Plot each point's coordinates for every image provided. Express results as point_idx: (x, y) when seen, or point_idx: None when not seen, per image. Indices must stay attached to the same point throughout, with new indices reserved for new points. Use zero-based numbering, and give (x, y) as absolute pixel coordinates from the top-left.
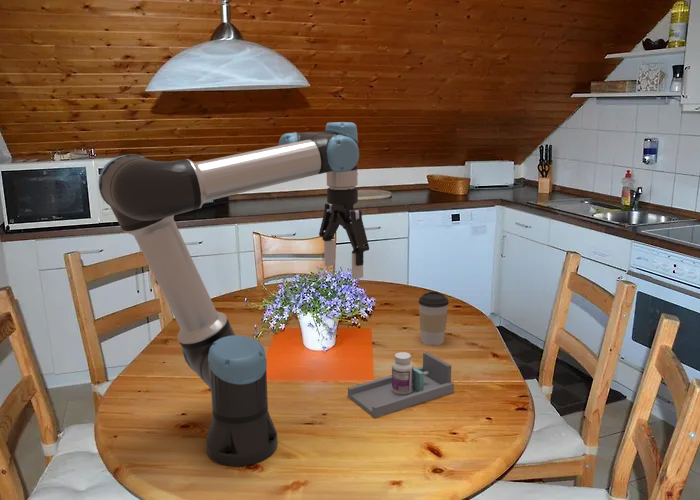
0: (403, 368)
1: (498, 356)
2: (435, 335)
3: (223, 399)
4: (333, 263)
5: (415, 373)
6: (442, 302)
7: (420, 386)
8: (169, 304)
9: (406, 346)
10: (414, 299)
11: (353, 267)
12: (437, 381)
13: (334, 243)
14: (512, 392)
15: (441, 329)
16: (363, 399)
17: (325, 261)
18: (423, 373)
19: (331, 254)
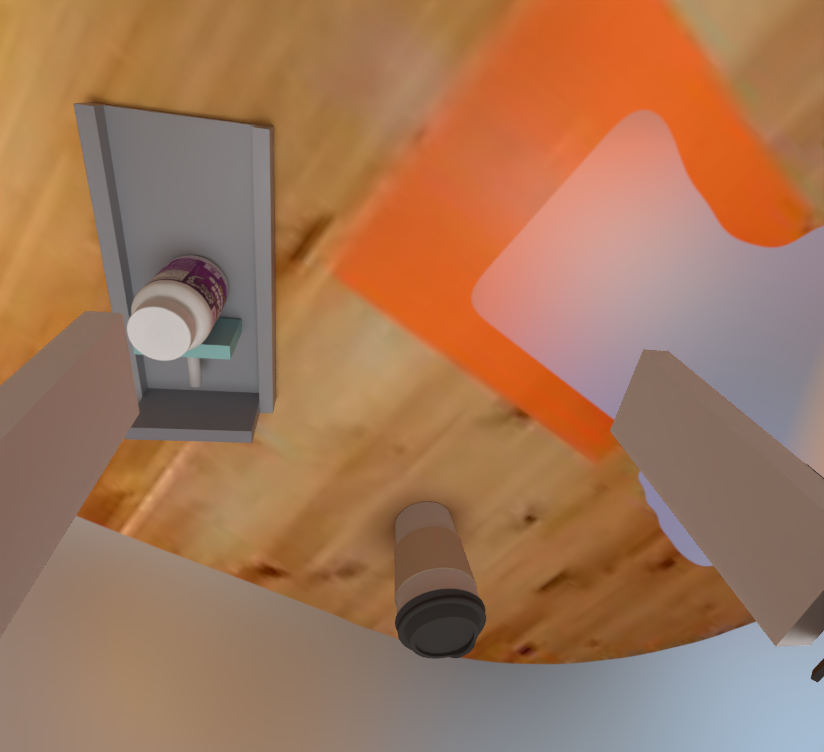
0: (135, 300)
1: (259, 572)
2: (400, 534)
3: None
4: (622, 426)
5: None
6: (404, 631)
7: None
8: None
9: (442, 463)
10: (629, 614)
11: (13, 377)
12: (191, 391)
13: (747, 604)
14: None
15: (394, 557)
16: (202, 142)
17: (677, 372)
18: (135, 352)
19: (682, 471)
